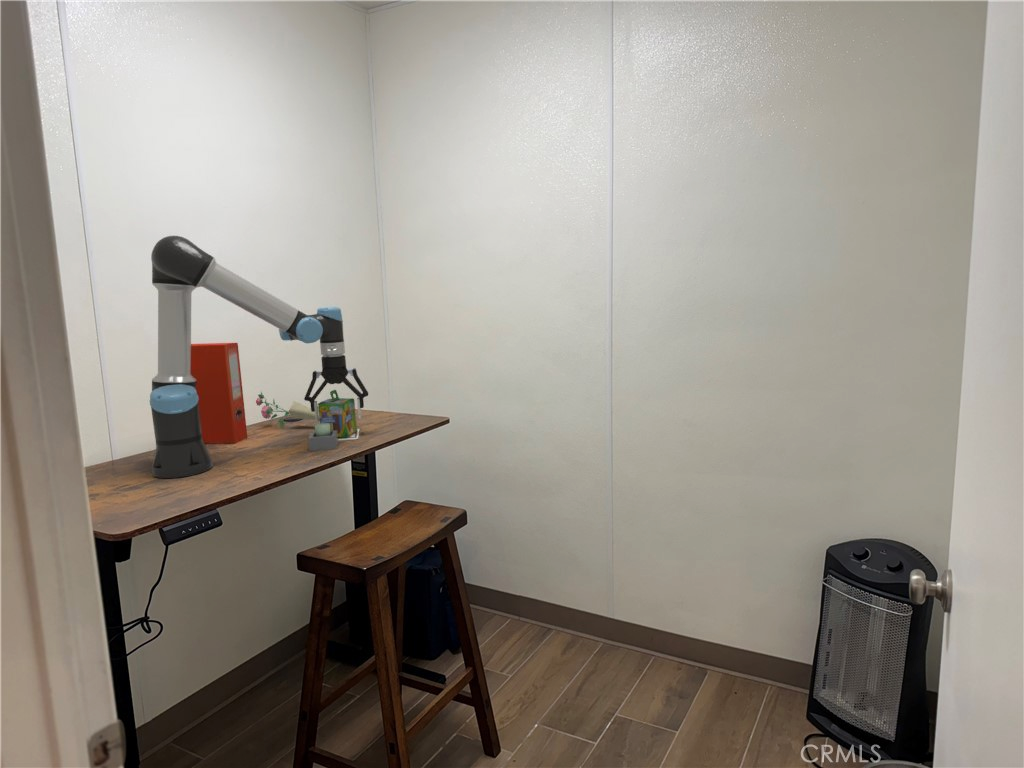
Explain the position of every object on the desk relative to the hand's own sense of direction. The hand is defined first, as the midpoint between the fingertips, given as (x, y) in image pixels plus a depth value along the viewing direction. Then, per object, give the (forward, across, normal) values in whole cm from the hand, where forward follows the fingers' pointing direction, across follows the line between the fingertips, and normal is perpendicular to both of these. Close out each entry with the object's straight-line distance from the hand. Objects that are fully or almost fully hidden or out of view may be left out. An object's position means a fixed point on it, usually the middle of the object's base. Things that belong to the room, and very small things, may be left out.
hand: (338, 419), depth 219 cm
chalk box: (+5, 0, 0) cm, 5 cm away
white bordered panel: (+5, 0, 0) cm, 5 cm away
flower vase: (+6, -15, +18) cm, 25 cm away
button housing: (+5, -4, -13) cm, 15 cm away
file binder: (+6, -40, +8) cm, 41 cm away
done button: (+2, -4, -13) cm, 14 cm away
